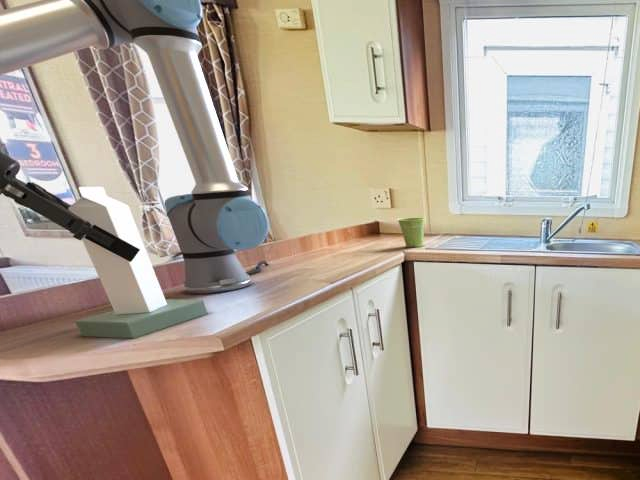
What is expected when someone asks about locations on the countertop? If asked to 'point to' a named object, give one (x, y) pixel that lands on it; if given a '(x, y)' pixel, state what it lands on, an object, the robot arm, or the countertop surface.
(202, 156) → the robot arm
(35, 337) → the countertop surface
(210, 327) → the countertop surface
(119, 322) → the sage green flat tile
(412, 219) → the plant pot
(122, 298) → the milk
